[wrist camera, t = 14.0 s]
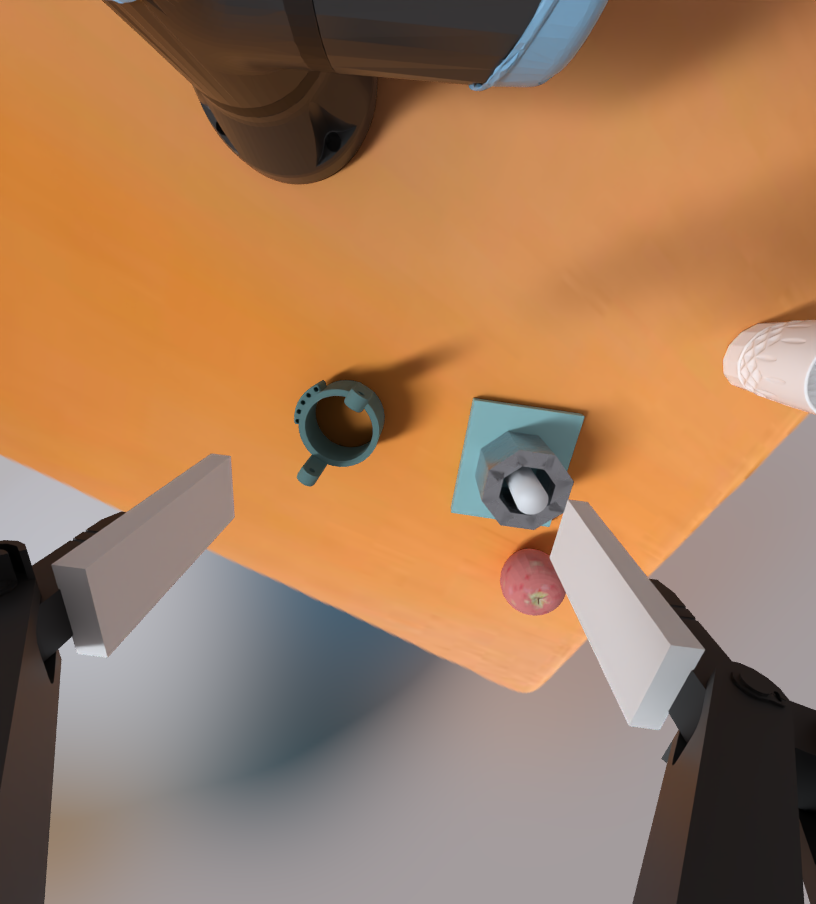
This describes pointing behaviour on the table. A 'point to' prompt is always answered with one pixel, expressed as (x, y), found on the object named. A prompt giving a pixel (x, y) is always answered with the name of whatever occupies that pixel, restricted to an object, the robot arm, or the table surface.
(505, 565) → the apple
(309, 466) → the bracket
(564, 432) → the stand
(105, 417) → the table surface
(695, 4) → the table surface
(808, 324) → the white cup
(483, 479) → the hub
